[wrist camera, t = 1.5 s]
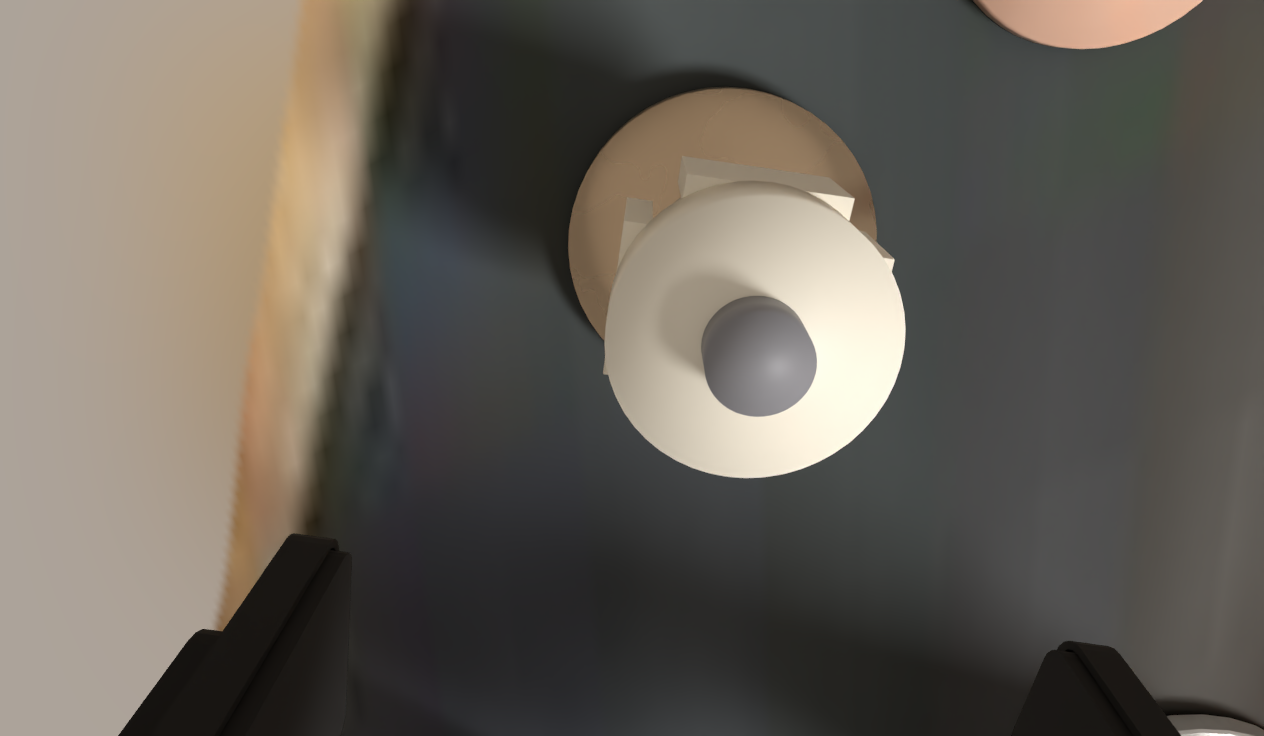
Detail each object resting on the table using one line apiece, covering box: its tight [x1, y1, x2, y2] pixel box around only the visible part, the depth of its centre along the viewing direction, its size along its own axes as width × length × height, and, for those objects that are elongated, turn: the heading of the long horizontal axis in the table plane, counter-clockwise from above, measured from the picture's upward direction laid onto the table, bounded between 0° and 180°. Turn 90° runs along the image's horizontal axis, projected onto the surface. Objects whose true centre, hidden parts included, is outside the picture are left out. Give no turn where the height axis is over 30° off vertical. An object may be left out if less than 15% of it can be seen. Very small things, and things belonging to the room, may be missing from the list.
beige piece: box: [568, 86, 877, 341], centre depth 25 cm, size 10×10×8 cm
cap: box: [603, 156, 905, 478], centre depth 21 cm, size 7×7×6 cm
